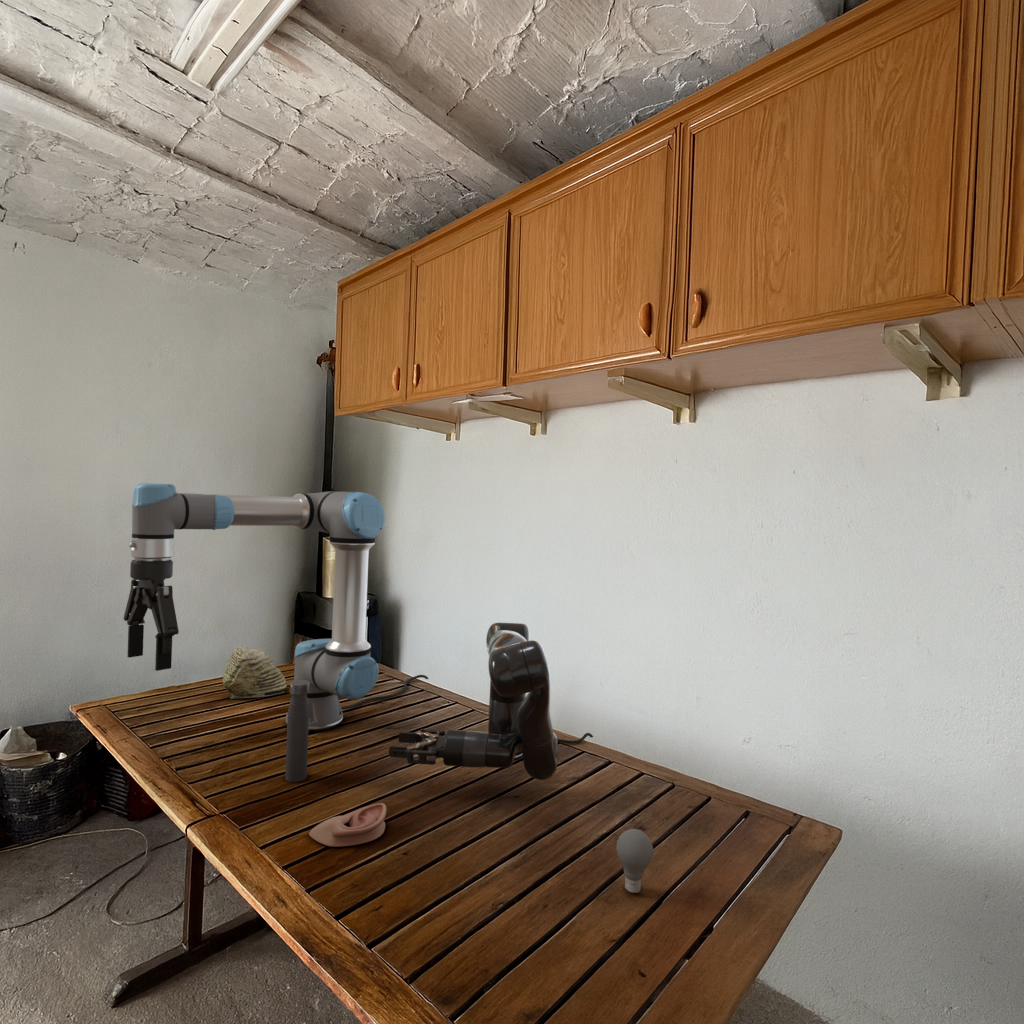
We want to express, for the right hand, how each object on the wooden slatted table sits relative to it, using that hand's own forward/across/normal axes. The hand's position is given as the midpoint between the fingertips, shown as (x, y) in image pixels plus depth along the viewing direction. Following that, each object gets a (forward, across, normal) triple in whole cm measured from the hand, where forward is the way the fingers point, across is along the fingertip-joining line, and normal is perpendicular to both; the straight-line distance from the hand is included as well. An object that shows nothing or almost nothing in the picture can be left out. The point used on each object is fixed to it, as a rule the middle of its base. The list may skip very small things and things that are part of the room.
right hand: (394, 743), depth 141 cm
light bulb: (-49, +32, +10) cm, 59 cm away
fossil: (+57, -54, +8) cm, 79 cm away
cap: (+22, 0, -12) cm, 25 cm away
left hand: (+48, +14, -19) cm, 54 cm away
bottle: (+22, 0, +9) cm, 24 cm away
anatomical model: (+3, +21, +10) cm, 23 cm away
